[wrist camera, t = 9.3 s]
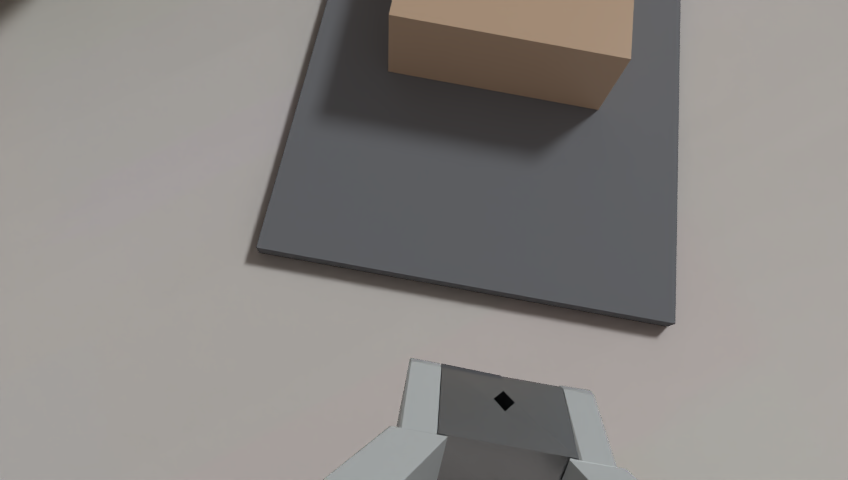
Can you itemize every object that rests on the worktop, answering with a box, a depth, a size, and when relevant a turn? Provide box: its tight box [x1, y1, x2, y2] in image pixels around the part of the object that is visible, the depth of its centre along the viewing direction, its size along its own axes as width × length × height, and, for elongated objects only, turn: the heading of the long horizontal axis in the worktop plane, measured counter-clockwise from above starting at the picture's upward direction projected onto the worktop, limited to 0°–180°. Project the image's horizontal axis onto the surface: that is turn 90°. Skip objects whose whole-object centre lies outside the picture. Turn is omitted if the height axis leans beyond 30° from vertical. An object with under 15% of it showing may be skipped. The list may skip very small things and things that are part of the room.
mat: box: [256, 0, 680, 326], centre depth 22 cm, size 20×14×1 cm
